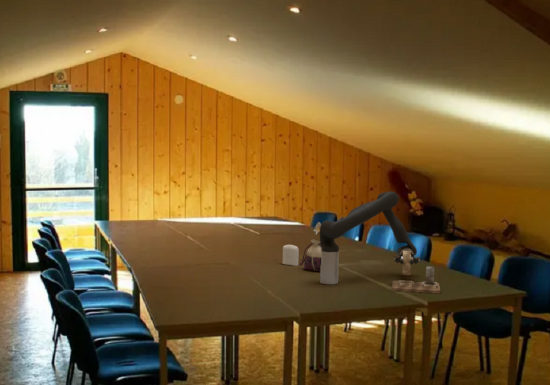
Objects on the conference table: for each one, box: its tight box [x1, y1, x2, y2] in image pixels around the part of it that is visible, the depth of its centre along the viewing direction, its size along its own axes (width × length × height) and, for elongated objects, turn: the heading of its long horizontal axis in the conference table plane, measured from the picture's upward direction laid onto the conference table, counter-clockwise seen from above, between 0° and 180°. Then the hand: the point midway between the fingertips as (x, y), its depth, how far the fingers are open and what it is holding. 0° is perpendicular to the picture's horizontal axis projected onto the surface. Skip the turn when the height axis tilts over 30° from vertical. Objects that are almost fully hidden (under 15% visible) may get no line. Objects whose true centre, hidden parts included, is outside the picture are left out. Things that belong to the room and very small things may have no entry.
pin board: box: [391, 266, 441, 295], centre depth 319 cm, size 24×18×12 cm
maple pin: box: [402, 251, 412, 276], centre depth 320 cm, size 4×4×12 cm
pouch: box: [298, 238, 322, 273], centre depth 362 cm, size 25×8×19 cm, turn 52°
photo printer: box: [282, 244, 300, 267], centre depth 380 cm, size 10×4×12 cm, turn 60°
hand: (406, 262), depth 317 cm, fingers closed on maple pin, 4 cm apart
